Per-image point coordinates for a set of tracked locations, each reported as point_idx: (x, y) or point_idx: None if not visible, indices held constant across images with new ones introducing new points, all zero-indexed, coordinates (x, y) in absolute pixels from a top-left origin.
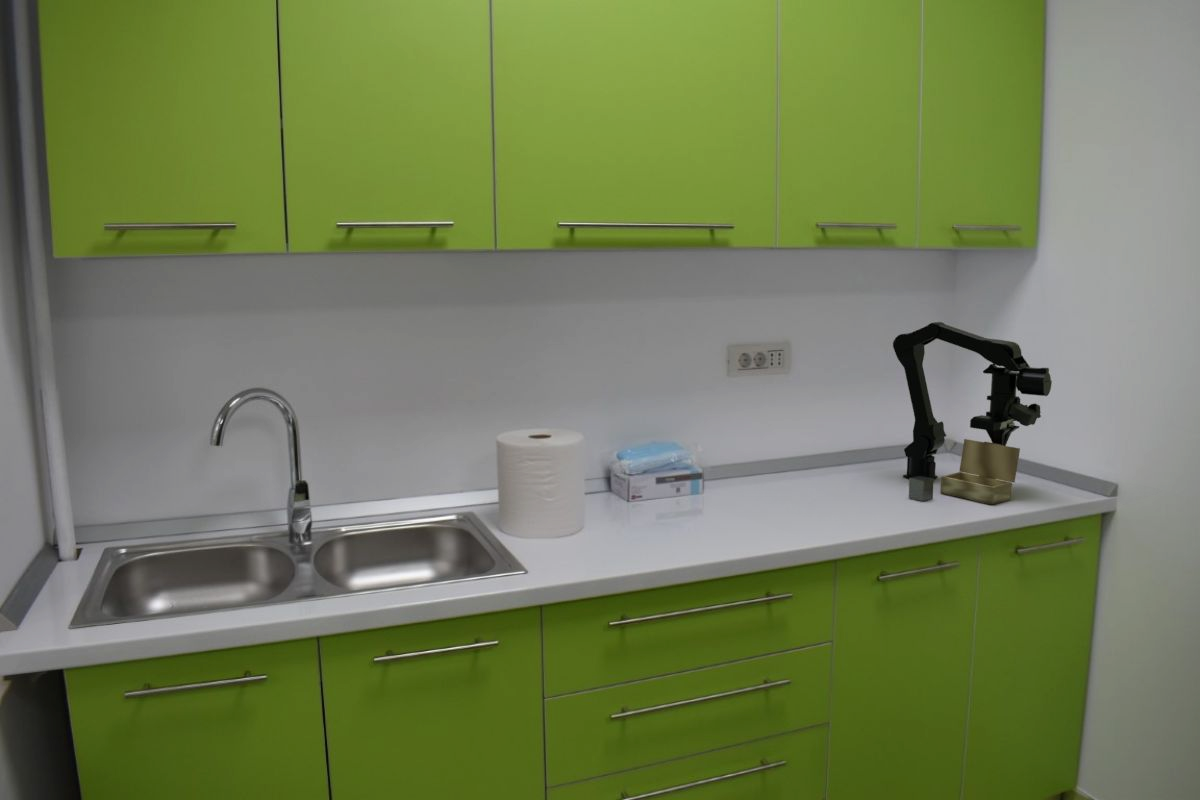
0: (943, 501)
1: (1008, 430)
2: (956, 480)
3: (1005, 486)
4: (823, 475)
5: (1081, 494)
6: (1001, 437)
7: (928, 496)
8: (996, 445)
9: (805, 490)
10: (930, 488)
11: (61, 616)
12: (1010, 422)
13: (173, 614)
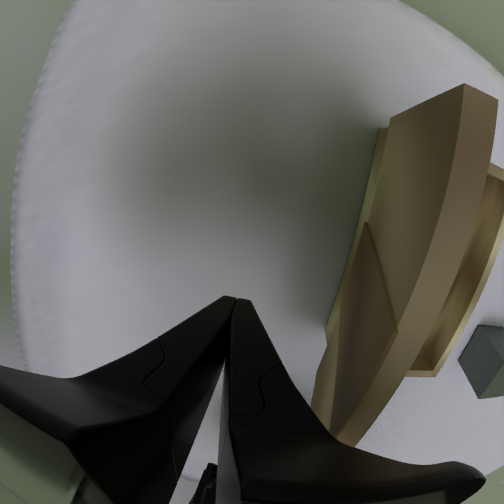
0: (489, 295)
1: (294, 470)
2: (463, 326)
3: None
4: None
5: (106, 4)
6: (308, 410)
7: (495, 331)
8: (417, 349)
9: (466, 454)
10: (500, 344)
11: None
12: (5, 497)
13: None
